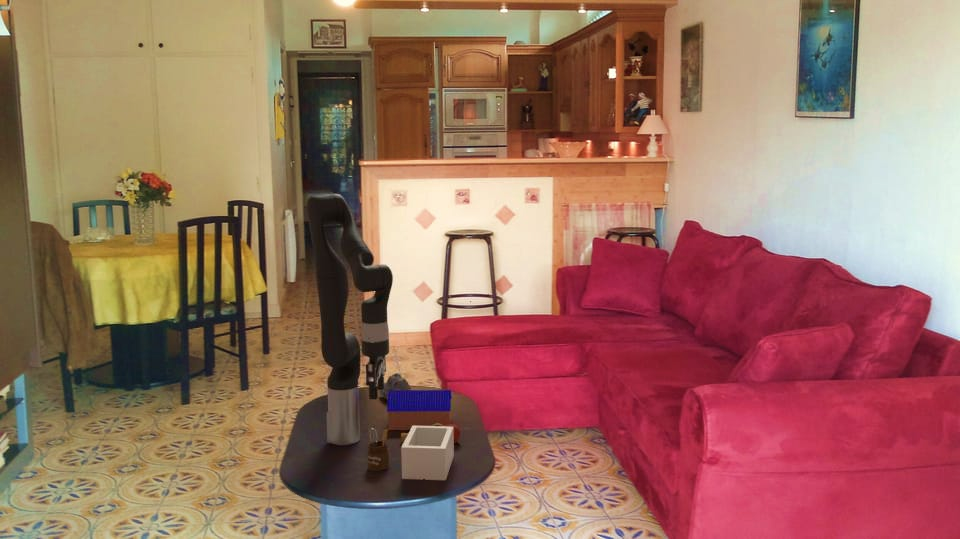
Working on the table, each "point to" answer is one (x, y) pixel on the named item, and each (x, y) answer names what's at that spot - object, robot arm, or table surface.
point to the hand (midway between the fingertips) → (376, 394)
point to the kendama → (455, 428)
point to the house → (418, 408)
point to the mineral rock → (394, 385)
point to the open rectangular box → (427, 452)
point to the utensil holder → (378, 454)
